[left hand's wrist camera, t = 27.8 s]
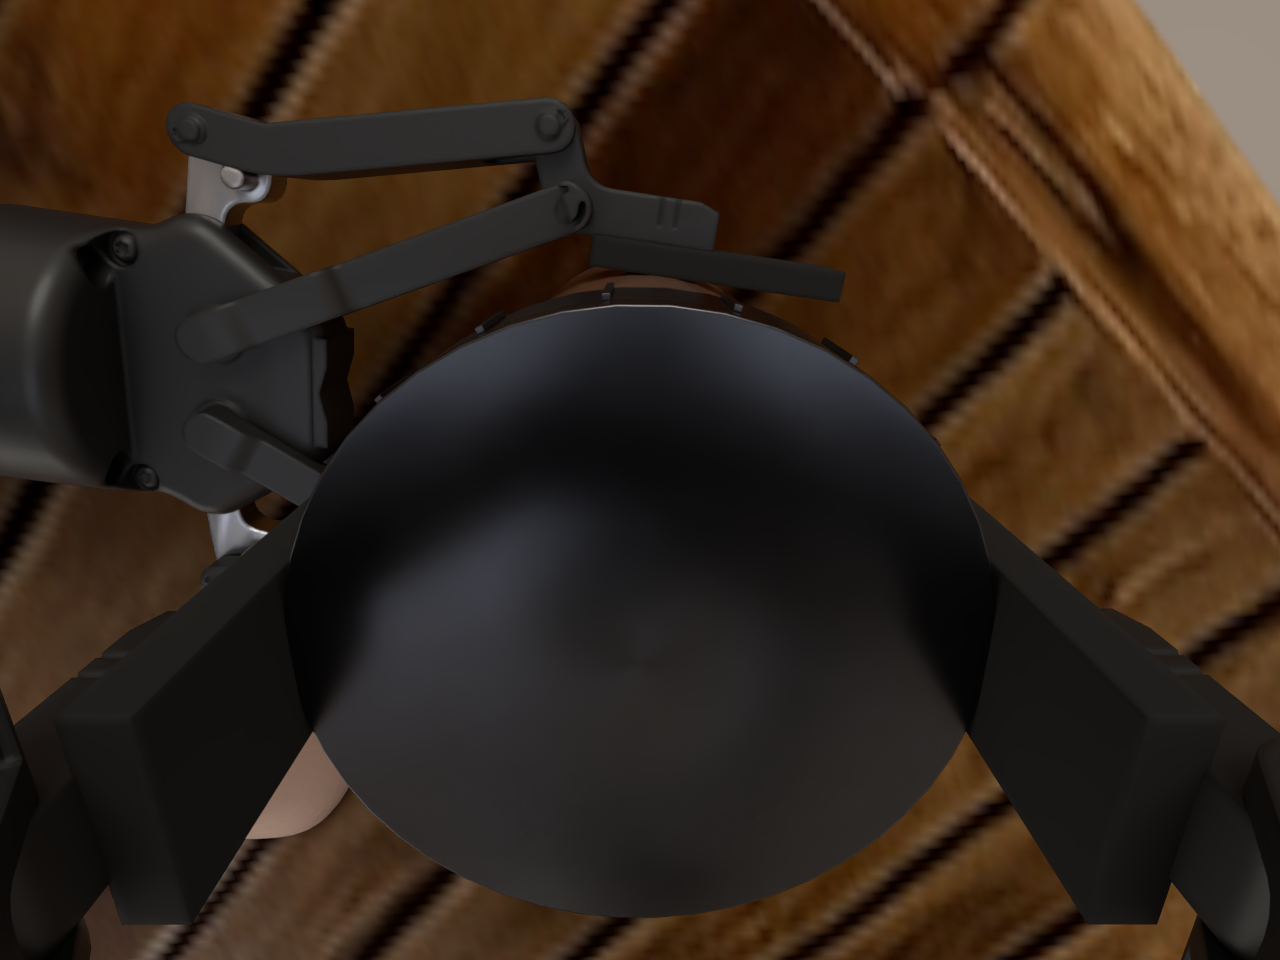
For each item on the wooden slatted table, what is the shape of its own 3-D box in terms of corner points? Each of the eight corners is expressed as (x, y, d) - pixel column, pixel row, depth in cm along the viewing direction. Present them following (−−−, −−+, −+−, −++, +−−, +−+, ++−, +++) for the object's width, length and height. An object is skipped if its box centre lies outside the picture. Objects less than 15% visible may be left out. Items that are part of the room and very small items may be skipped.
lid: (1036, 663, 13) (1110, 747, 11) (567, 895, 14) (556, 1003, 12) (749, 137, 10) (777, 117, 8) (211, 511, 12) (123, 573, 10)
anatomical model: (338, 727, 28) (323, 937, 32) (373, 666, 32) (356, 861, 35) (-22, 669, 27) (9, 893, 31) (59, 614, 31) (77, 819, 35)
